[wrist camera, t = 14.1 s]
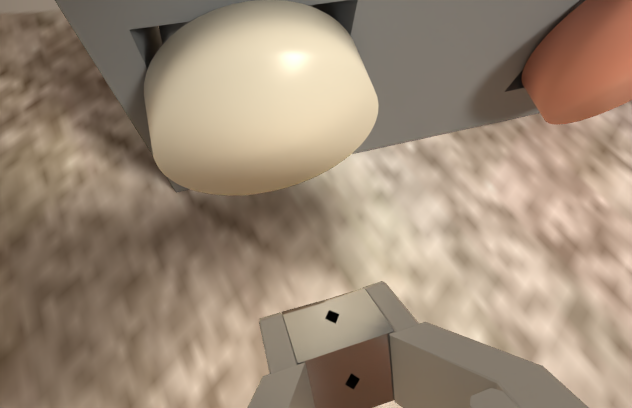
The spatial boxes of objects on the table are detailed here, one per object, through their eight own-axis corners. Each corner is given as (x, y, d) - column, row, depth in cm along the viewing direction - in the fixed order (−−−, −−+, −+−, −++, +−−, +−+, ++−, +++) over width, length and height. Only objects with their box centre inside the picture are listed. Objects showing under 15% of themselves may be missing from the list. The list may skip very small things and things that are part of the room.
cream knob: (186, 211, 15) (105, 85, 8) (159, 59, 17) (84, -126, 11) (356, 172, 16) (408, 37, 9) (305, 37, 19) (318, -139, 12)
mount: (176, 192, 17) (29, -41, 7) (160, 100, 19) (27, -184, 9) (584, 103, 22) (845, -120, 12) (538, 35, 24) (727, -206, 14)
